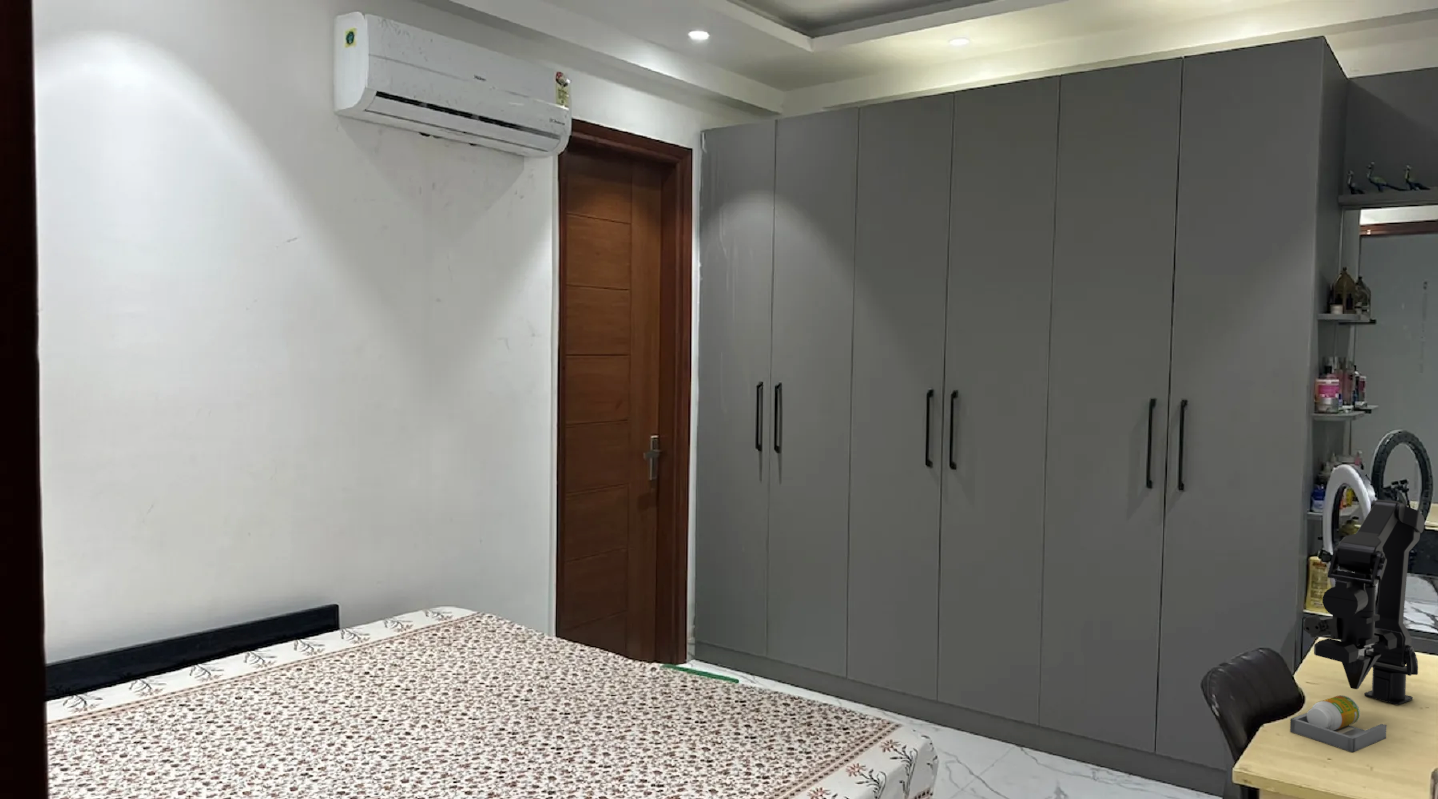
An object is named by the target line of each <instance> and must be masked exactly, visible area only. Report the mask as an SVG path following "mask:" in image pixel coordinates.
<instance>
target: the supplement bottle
mask: <svg viewBox="0 0 1438 799" xmlns="http://www.w3.org/2000/svg"><path fill="white" fill-rule="evenodd" d="M1360 710H1361V709H1360V707H1359V706H1358V704H1357V703H1356V701H1355V700H1354V699H1352V698H1351V697H1349V696H1346V695H1336V696H1333V697H1329V698H1327V699H1324V700H1320V701H1318V702H1316V703H1314V704H1313V705H1312V707H1311V708H1310V709H1309V710H1308V711H1307V712H1306V713H1307V720H1308V722H1309V723H1310V724H1314V725H1317V726H1320V727H1323V728H1326V729H1329V730H1332V731H1333V730H1336V729H1339V728H1342V727H1345V726H1348V725H1350V726H1352V725H1354V724H1355V723H1356V722H1358V720H1359V719H1360V717H1361V711H1360Z"/></svg>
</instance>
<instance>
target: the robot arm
mask: <svg viewBox="0 0 1438 799" xmlns="http://www.w3.org/2000/svg"><path fill="white" fill-rule="evenodd" d="M1369 508H1370V510H1369V512H1368V513H1367V515H1366V516H1365V518H1364V519H1363V521H1362V523H1361V525H1360V526H1359V528H1357V529H1358V530H1357V531H1356V532H1355V533H1354V534H1353V533H1352V534H1348V535H1346V536H1344V537H1343V538H1342V539H1341V540H1340V541H1339V543H1338V545H1335V546H1334V549H1333V553H1332V555H1331V560H1330V564H1329V568H1328V572H1327V578H1328V579H1335V581H1334V586H1331V587H1330V588H1328V589H1327V590H1326V591H1325V592H1324V593H1323V595H1322V600H1321V601H1322V605H1323V608H1324V609H1325V610H1326V612H1327V613H1329V615H1331V616H1327V617H1326V616H1325V617H1324V616H1323V617H1319V616H1318V615H1313V616H1311V615H1309V616H1306V617H1305V618H1304V622H1303V624H1304V625H1303V627H1302V630H1303V631H1304V632H1306V633H1307V634H1308V635H1309V637H1310V638H1312V639H1313V638H1316V637H1320V636H1329V635H1330V638H1326V639H1325V638H1324V639H1322V640H1319V641H1317V642H1316V643H1314V644H1313V654H1314V656H1316V657H1321V658H1325V659H1328V660H1333V661H1335V662H1340V663H1341V664H1342V666H1343V669H1344V673H1345V676H1346V679H1347V681H1348V684H1349V687H1350V689H1352V690H1358V689H1359V688H1360V687H1361V686H1362V684H1363V682H1364V680H1365V679H1366V677H1367V676H1368V674H1369V673H1370V671H1371V669H1372V681H1371V682H1372V683H1371V684H1372V685H1371V690H1368V691H1366V692H1364V694H1363V695H1364V696H1365V697H1368V698H1371V699H1374V700H1379V701H1382V702H1386V703H1389V704H1392V705H1402V704H1405V703H1408V702H1410V701H1412V700H1413V699H1414V697H1413V696H1411V695H1407V694H1406V687H1407V676H1409V677H1411V676H1414V675H1415V676H1417V675H1419V663H1418V662H1419V661H1418V657H1417V654H1416V651H1415V648H1414V646H1412V636H1411V634H1410V632H1409V631H1408V628H1407V627H1406V625H1405V623H1404V614H1405V602H1406V601H1405V600H1406V593H1407V592H1406V588H1407V578H1408V567H1409V566H1408V565H1409V554H1410V552H1411V550H1412V549H1413V548H1414V547H1415V546H1416V545H1417V543H1418V542H1419V541H1420V537H1421V534H1422V533H1423V531H1424V530H1425V529H1424V527H1425V517H1424V515H1423V514H1422V513H1421V512H1420V511H1419V510H1417V509H1416V508H1411V507H1410V506H1406V505H1405V504H1404V503H1403V502H1400V501H1396V500H1386V499H1375V500H1372V501H1371V504H1370V507H1369ZM1378 582H1379V584H1378ZM1377 584H1378V596H1377V595H1376V593H1377V592H1376V591H1377ZM1376 596H1377V597H1376ZM1376 598H1377V599H1378V600H1377V608H1376ZM1376 610H1377V611H1376Z"/></svg>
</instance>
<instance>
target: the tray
mask: <svg viewBox="0 0 1438 799" xmlns="http://www.w3.org/2000/svg"><path fill="white" fill-rule="evenodd" d="M1307 713H1308V712H1305V713H1302V714H1300V715H1299V714H1298V715H1297V716H1294V717H1292V718H1290V725H1289V728H1290V729H1289V732H1290V733H1293V734H1296V735H1299V736H1302V737H1305V738H1308V739H1310V740H1314V741H1317V742H1321V743H1323V744H1326V745H1329V746H1331V747H1335V748H1337V749H1341V750H1344V751H1347V752H1349V753H1354V752H1357V751H1359V750H1362V749H1364V748H1366V747H1369V746H1371V745H1373V744H1376V743H1378V742H1381V741H1383V740H1385V739H1387V724H1385V723H1380V724H1378V725H1376V726H1372V727H1370V728H1368V729H1363V728H1359V727H1357V726H1353V725H1348V726H1345V727H1342V728H1339V729H1336V730H1333V731H1332V730H1329V729H1326V728H1323V727H1320V726H1317V725H1314V724H1310V723H1309V722H1308V720H1307Z"/></svg>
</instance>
